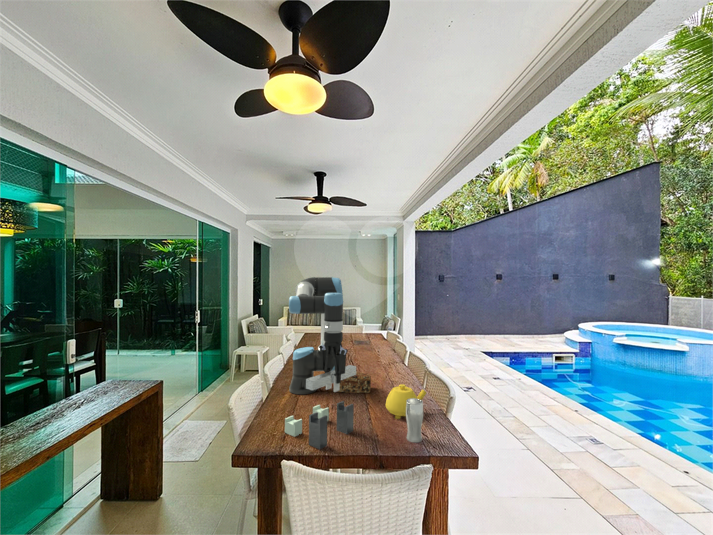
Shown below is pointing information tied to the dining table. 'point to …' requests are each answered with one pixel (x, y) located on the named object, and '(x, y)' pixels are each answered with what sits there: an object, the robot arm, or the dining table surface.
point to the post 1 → (317, 431)
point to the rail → (328, 378)
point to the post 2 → (345, 417)
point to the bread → (356, 383)
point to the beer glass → (414, 419)
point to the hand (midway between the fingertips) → (332, 389)
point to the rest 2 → (321, 412)
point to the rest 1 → (293, 426)
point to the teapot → (401, 400)
